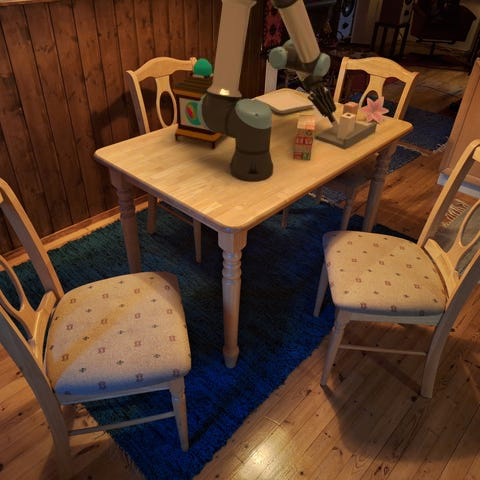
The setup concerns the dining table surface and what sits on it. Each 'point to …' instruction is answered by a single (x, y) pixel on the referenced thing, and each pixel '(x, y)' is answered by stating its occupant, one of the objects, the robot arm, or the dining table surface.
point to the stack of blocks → (304, 137)
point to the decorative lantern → (194, 103)
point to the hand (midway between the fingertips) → (338, 128)
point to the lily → (374, 110)
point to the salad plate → (285, 102)
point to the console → (358, 134)
